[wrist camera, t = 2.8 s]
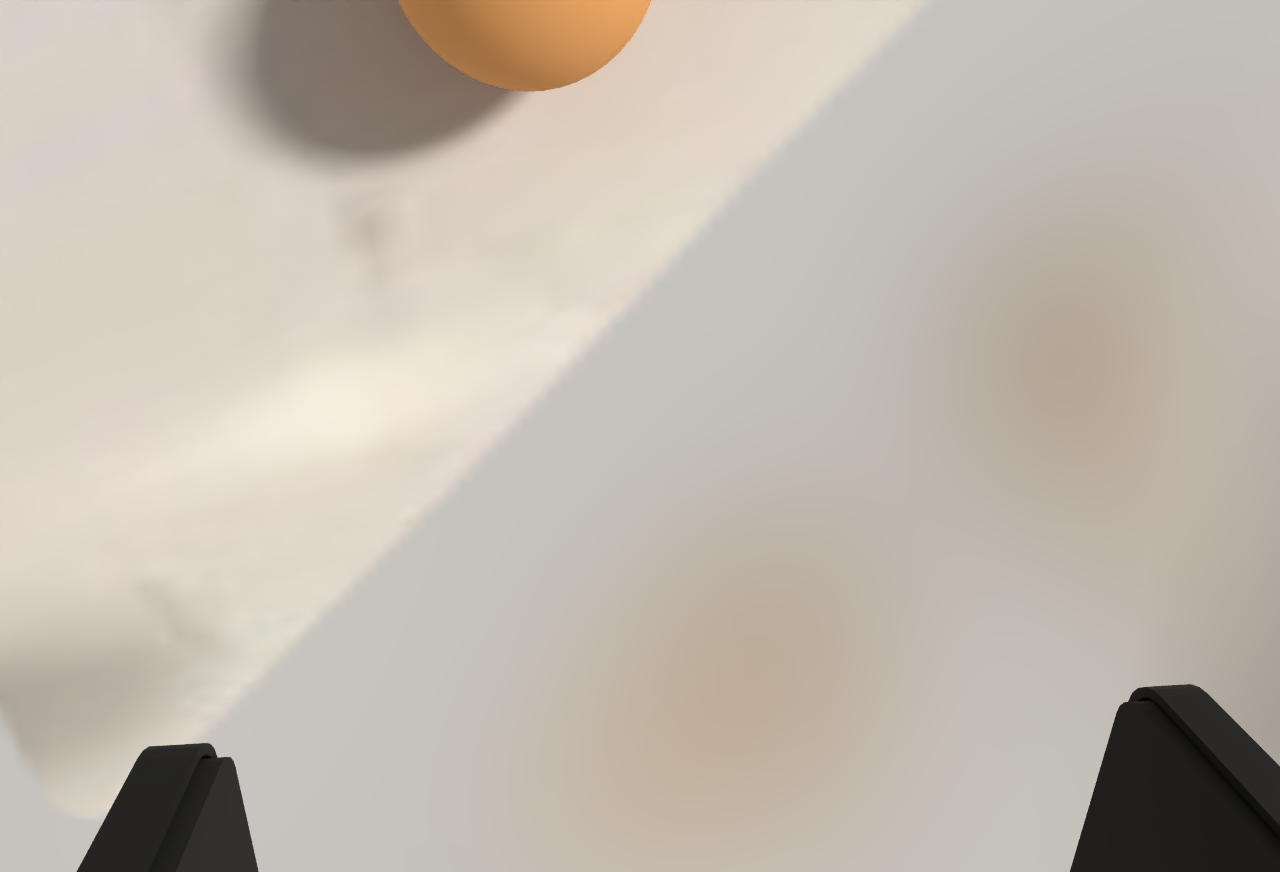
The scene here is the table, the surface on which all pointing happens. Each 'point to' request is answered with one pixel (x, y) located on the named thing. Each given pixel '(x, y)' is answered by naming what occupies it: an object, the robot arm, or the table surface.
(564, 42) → the ball
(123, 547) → the table surface
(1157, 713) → the robot arm
